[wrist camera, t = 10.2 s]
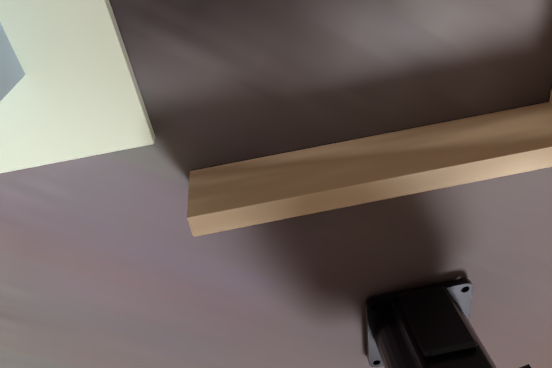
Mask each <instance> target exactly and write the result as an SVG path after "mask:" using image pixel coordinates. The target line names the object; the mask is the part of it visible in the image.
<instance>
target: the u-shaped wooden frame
mask: <svg viewBox="0 0 552 368" xmlns="http://www.w3.org/2000/svg"><path fill="white" fill-rule="evenodd" d="M547 167H552V90H551V94H550V99H549V102H546V103H541V104H536V105H531V106H526V107H520V108H515V109H510V110H505V111H500V112H495V113H489V114H484V115H479V116H474V117H469V118H463V119H458V120H453V121H448V122H443V123H437V124H432V125H427V126H422V127H417V128H411V129H406V130H401V131H396V132H391V133H386V134H380V135H375V136H370V137H365V138H360V139H354V140H349V141H344V142H339V143H334V144H328V145H323V146H318V147H313V148H308V149H302V150H297V151H292V152H287V153H282V154H277V155H271V156H266V157H261V158H256V159H251V160H245V161H240V162H235V163H230V164H225V165H219V166H214V167H209V168H204V169H199V170H193V171H190V178H189V194H188V210H187V219H188V222H189V225H190V228H191V231H192V234H193V237H195V236H200V235H205V234H210V233H215V232H221V231H226V230H231V229H236V228H241V227H246V226H251V225H256V224H261V223H266V222H272V221H277V220H282V219H287V218H292V217H297V216H302V215H307V214H312V213H317V212H323V211H328V210H333V209H338V208H343V207H348V206H353V205H358V204H363V203H369V202H374V201H379V200H384V199H389V198H394V197H399V196H404V195H409V194H414V193H420V192H425V191H430V190H435V189H440V188H445V187H450V186H455V185H460V184H465V183H471V182H476V181H481V180H486V179H491V178H496V177H501V176H506V175H511V174H517V173H522V172H527V171H532V170H537V169H542V168H547Z"/></svg>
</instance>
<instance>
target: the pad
mask: <svg viewBox="0 0 552 368" xmlns="http://www.w3.org/2000/svg"><path fill="white" fill-rule="evenodd" d="M0 23H1V25H2V27H3V29H4V31H5V33H6V35H7V37H8V39H9V41H10V43H11V46H12V48H13V50H14V52H15V54H16V56H17V58H18V60H19V62H20V64H21V66H22V68H23V70H24V73H25V76H24V77H23V78H22V79H21V80H20V81H19V82H18V83H17V84H16V85H15V86H14V87H13V89H12V90H11V91H10V92H9V93H8V94H7V95H6V96H5V97H4V98H3V99H2V100H1V101H0V173H4V172H9V171H15V170H20V169H25V168H30V167H36V166H41V165H46V164H51V163H57V162H62V161H67V160H72V159H78V158H83V157H88V156H93V155H98V154H104V153H109V152H114V151H119V150H125V149H130V148H135V147H140V146H146V145H151V144H154V142H155V134H154V131H153V128H152V126H151V123H150V120H149V117H148V114H147V111H146V108H145V105H144V102H143V99H142V96H141V93H140V90H139V87H138V84H137V81H136V78H135V75H134V72H133V70H132V67H131V64H130V61H129V58H128V55H127V52H126V49H125V46H124V43H123V40H122V37H121V34H120V31H119V28H118V25H117V22H116V19H115V16H114V14H113V11H112V8H111V5H110V2H109V0H0Z"/></svg>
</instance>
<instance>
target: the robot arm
mask: <svg viewBox="0 0 552 368" xmlns="http://www.w3.org/2000/svg"><path fill="white" fill-rule="evenodd" d="M472 295H473V285H472V283H471V282H470V280H469V279H459V280H454V281H449V282H444V283H439V284H434V285H429V286H424V287H420V288H415V289H410V290H405V291H400V292H395V293H390V294H385V295H380V296H375V297H371V298H369V299H367V300H366V302H365V318H366V337H367V356H368V361H369V364H370V366H371V367H379V366H384V367H385V368H496V366H495V364H494V363H493V361H492V359H491V358H490V356H489V354H488V353H487V351H486V349H485V348H484V346H483V344H482V343H481V341H480V339H479V338H478V336H477V334H476V333H475V331H474V329H473V328H472V326H471V324H470V323H469V315H470V308H471V301H472ZM520 368H531V367H530V365H529V364H528V365H525V366H523V367H520Z"/></svg>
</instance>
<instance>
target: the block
mask: <svg viewBox="0 0 552 368" xmlns="http://www.w3.org/2000/svg"><path fill="white" fill-rule="evenodd" d="M24 76H25V73H24V70H23V68H22V66H21V64H20V62H19V60H18V58H17V56H16V54H15V52H14V50H13V48H12V46H11V43H10V41H9V39H8V37H7V35H6V33H5V31H4V29H3V27H2V25H1V23H0V101H1V100H2V99H3V98H4V97H5V96H6V95H7V94H8V93H9V92H10V91H11V90H12V89H13V87H14V86H15V85H16V84H17V83H18V82H19V81H20V80H21V79H22V78H23V77H24Z"/></svg>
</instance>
